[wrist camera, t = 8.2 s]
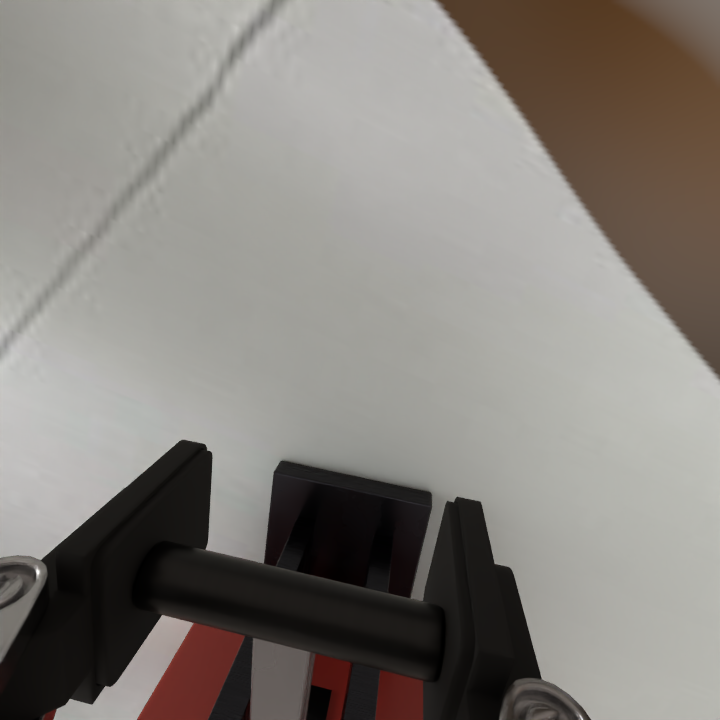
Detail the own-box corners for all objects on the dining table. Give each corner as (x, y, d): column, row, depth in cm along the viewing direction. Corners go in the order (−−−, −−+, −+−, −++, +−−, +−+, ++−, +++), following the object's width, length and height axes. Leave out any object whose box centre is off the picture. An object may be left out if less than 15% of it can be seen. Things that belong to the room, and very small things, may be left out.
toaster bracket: (280, 459, 23) (87, 766, 10) (431, 492, 22) (444, 870, 9) (265, 593, 25) (98, 976, 12) (400, 626, 25) (374, 1069, 12)
